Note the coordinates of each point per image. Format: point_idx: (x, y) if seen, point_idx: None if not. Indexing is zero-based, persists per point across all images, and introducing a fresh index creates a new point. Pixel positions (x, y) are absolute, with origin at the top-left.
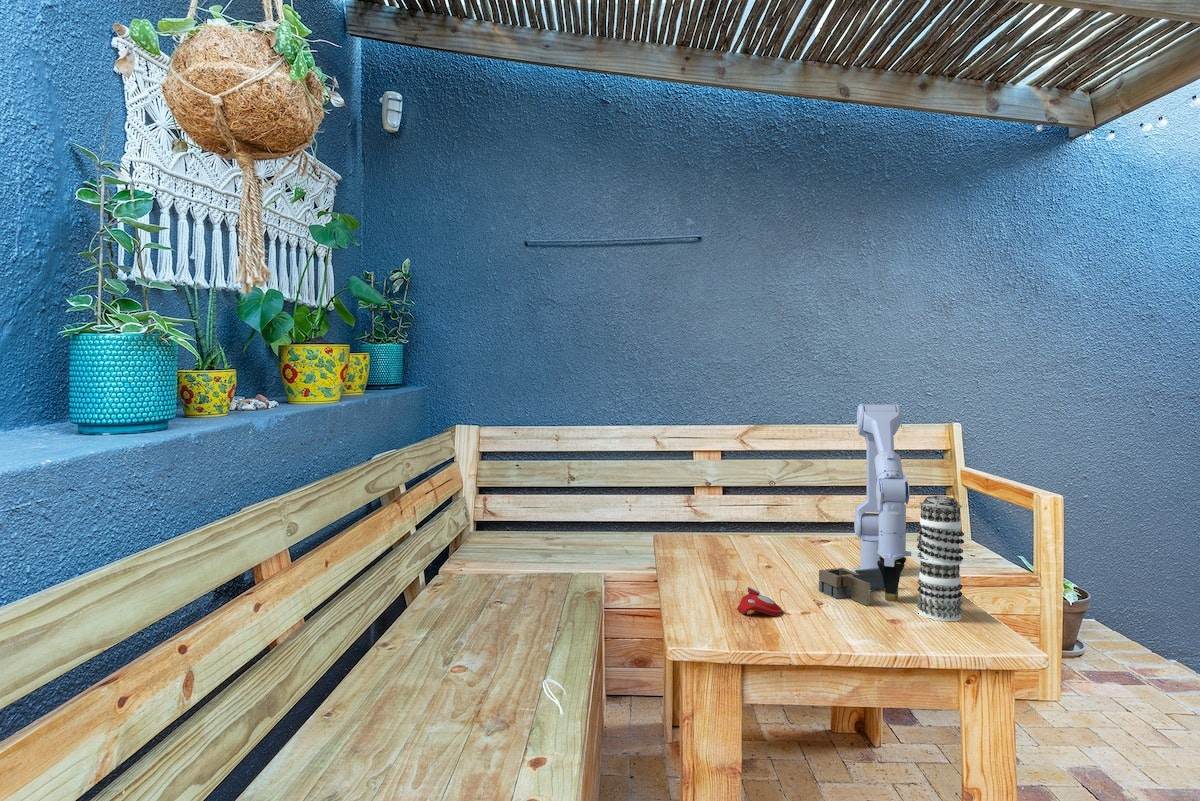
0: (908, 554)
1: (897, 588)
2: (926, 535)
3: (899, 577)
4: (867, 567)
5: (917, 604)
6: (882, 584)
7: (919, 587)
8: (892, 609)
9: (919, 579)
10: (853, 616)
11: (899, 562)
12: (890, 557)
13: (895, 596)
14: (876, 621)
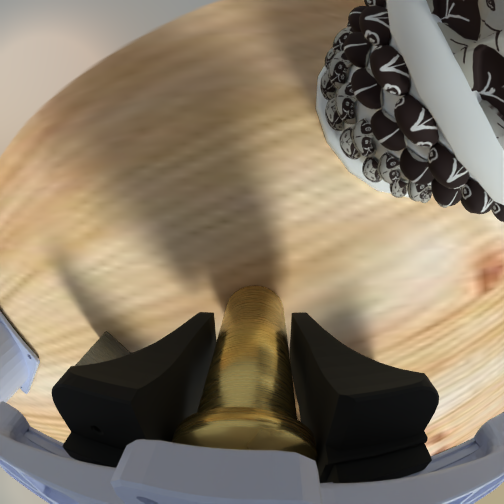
0: (320, 496)
1: (267, 318)
2: None
3: (191, 338)
4: (19, 379)
5: (426, 201)
6: (112, 355)
7: (457, 200)
8: (390, 294)
9: (487, 207)
10: (462, 369)
11: (210, 431)
12: (489, 483)
13: (277, 306)
14: (492, 313)
